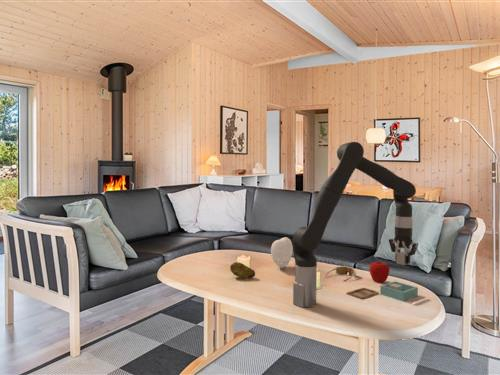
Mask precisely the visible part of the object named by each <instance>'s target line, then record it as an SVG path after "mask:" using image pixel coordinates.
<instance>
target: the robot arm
mask: <svg viewBox="0 0 500 375" xmlns="http://www.w3.org/2000/svg"><path fill="white" fill-rule="evenodd" d="M364 152H365V151H364V146H363V145H362V143H360V142H357V141H351V142H345V143H342V144H341V145H340V146H338V147H337V150H336V155H337V156H336V157H337V159H338V160H339V163H338V165H337V167H336V169H334V171H333V172H332V173H331V175H329V177H327V179H325V181H324V182H323V184H322V186H321V187H320V190H319V191H318V193H317V195H316V199H315V202H314V211H313V216H312V218H311V221H310V222H309V223H308V224H309V225H307V226H300V227H298V228H297V229H296V230H295V231H294V233H293V236H292V237H293V238H292V240H293V242H292V246H293V252H292V254H293V258H294V261H295V262H294V264H295V266H294V282H292V283H293V285H292V286H293V287H292V288H293V289H292V296H293V297H292V298H293V299H292V304H293V305H295V306H298V307H300V308H313V307H315V306H316V305H317V282H318V281H317V277H318V276H317V273H318V272H317V271H318V270H317V268H318V265H317V264H318V260H317V259H318V258H316V256H315V254H314V250H316V249H317V248H318V247H319V245H320V243H321V241H322V239H323V236H324V234H325V230H326V228H327V226H328V223H329V221H330V219H331V218H332V216H333V213H334V211H335V209H336V208H337V205H338V204H339V203H340V202H339V201H340V199H341V198H342V195H343V193H344V191H345V189H346V187H347V186H348V183H349V181H350V180H351V177H352V175H353V173H354V172H355V170H359V171H360V172H362V173H364V174H366V176H369V177H370V178H372V179H373V180H375V181H377V183H379V184H381V186H384V187H385V188H388V189H391V190H392V195H393V196H392V197H393V200H394V204H395V205H394V206H395V217H394V218H395V219H394V238H389V239H388V243H389V247H390V250H391V252H392V253H394V254H395V255H394V256H395V257H394V259H395V261H396V253H397V252H401V251H402V249H403V252H405V254H406V256H405V264H407V265H409V264H411V257H412V256H414V255H415V254H416V252H417V248H418V246H419V243H418V242H415V241H413V239H412V238H413V205H412V204H411V203H409V199H411V198H413V197H415V196H416V193H417V191H416V190H417V189H416V186H415V184H413V183H412V182H410V181H408V180H406V179H404V178H403V177H400V176H398V175H397V174H395V173H394V172H393V171H391V170H390V169H389V168H386V167H385V166H383V165H381V164H379V163H376V162H374V161H371V160H369V159H368V158H366V157H364Z"/></svg>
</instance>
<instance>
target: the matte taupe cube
mask: <svg viewBox="0 0 500 375" xmlns="http://www.w3.org/2000/svg"><path fill="white" fill-rule="evenodd" d="M389 288H392V289H395V290H399V291H402V285H399V284H395V283H393V284H391V285H389Z"/></svg>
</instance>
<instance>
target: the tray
mask: <svg viewBox="0 0 500 375" xmlns="http://www.w3.org/2000/svg"><path fill="white" fill-rule="evenodd" d="M379 292H380V291H377V290H376V291H375V290H373V289H369V288H366V287H360V288H357V289H354V290H351V291H347V292H346V293H345V294H346V295H347V296H350V297H354V298H356V299H359V300H364V299H366V298H367V299H368V298H370V297H373V296H376V295H379V294H380V293H379Z"/></svg>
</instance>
